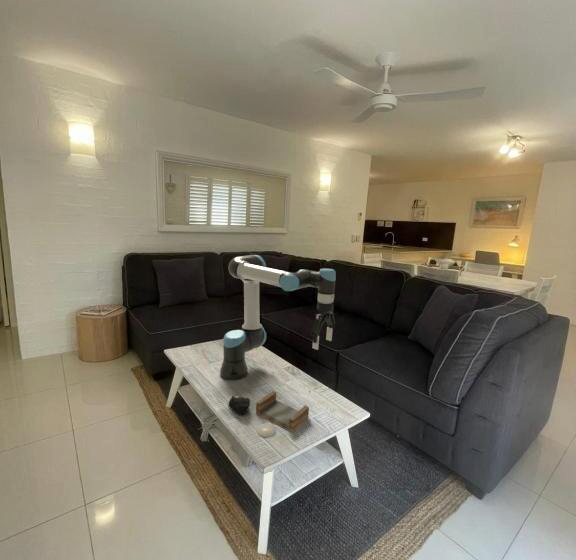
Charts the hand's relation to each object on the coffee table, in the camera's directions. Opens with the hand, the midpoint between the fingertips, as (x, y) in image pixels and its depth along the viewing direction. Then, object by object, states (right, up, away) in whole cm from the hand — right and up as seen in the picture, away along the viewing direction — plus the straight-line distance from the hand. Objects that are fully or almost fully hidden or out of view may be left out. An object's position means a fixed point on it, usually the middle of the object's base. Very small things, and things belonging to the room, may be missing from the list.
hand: (322, 344), depth 148 cm
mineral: (-38, -28, -9) cm, 48 cm away
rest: (-19, -29, -12) cm, 37 cm away
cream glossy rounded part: (-25, -31, -22) cm, 46 cm away
